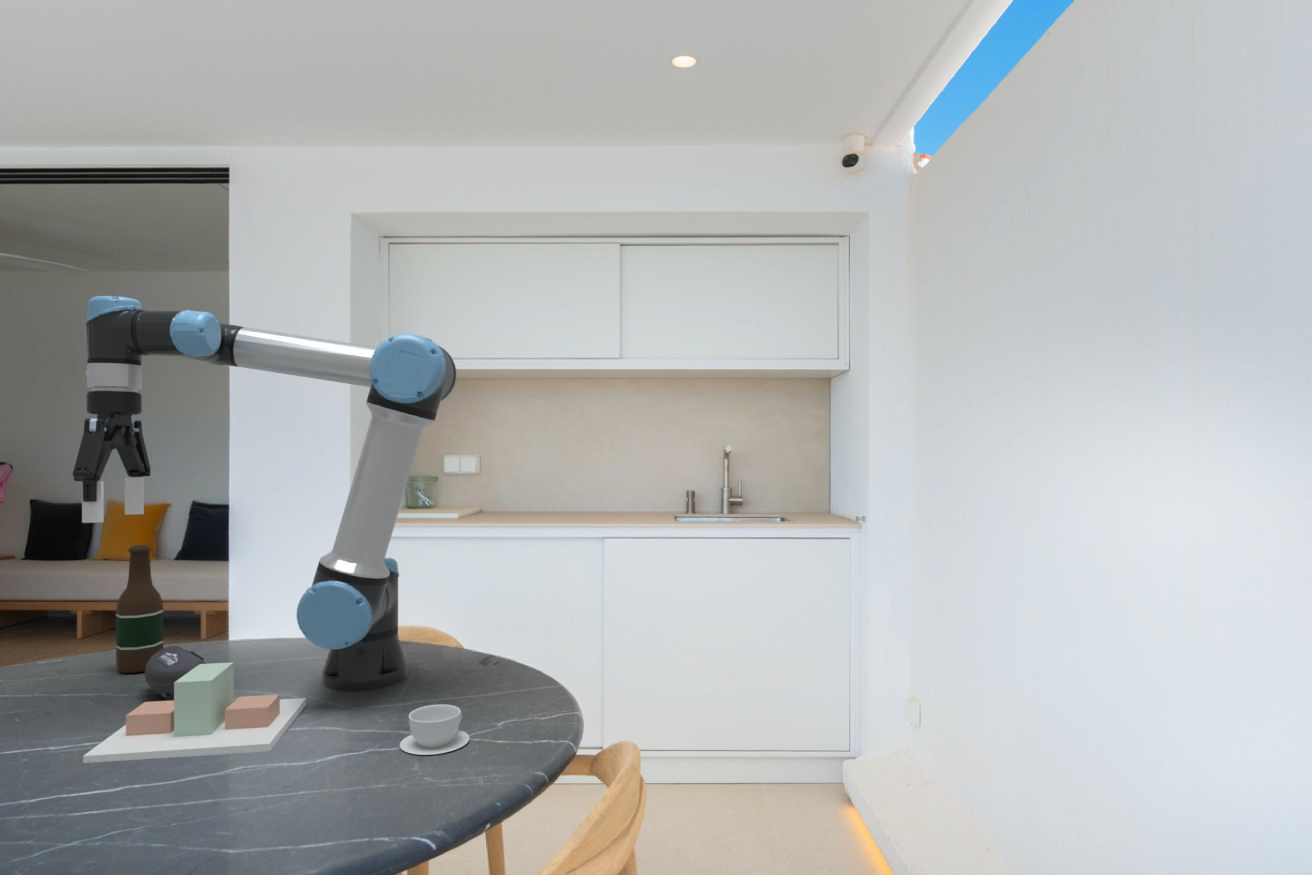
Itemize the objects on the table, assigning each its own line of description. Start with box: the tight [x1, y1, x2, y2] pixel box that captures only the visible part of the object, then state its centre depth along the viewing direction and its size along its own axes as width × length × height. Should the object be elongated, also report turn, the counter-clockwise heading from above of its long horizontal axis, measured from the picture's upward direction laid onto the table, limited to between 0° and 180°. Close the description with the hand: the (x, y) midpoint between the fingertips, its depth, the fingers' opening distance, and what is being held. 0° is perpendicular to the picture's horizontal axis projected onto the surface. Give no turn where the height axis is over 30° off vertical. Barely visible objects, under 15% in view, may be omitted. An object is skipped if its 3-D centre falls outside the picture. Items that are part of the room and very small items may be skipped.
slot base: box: [82, 693, 307, 764], centre depth 120 cm, size 24×20×4 cm
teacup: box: [398, 703, 471, 756], centre depth 115 cm, size 10×10×5 cm
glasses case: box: [144, 645, 208, 701], centre depth 136 cm, size 18×10×8 cm, turn 47°
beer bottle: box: [115, 544, 164, 674], centre depth 153 cm, size 8×8×24 cm
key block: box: [174, 661, 235, 737], centre depth 120 cm, size 10×5×8 cm, turn 10°
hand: (114, 518), depth 130 cm, fingers open, 13 cm apart
